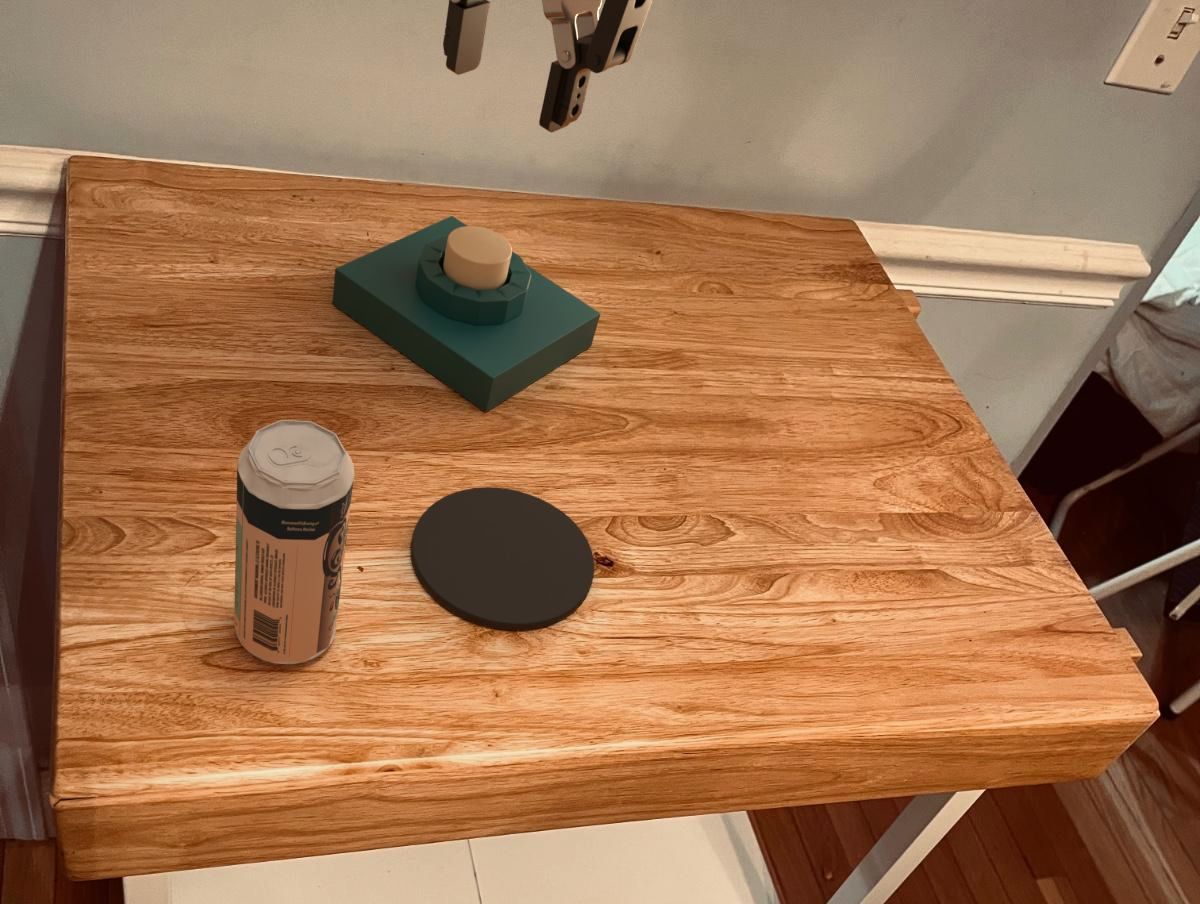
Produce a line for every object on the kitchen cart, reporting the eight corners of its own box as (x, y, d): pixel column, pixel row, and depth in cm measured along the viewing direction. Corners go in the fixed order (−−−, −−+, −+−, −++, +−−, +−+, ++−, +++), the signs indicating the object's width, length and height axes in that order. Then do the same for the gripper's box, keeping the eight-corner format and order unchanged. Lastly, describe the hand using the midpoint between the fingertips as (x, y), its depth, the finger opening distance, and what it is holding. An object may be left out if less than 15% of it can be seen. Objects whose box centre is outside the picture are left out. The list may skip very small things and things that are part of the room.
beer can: (350, 655, 58) (374, 479, 49) (254, 682, 56) (261, 501, 47) (314, 585, 60) (331, 404, 52) (220, 607, 58) (221, 422, 49)
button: (429, 266, 74) (434, 238, 72) (471, 246, 76) (476, 218, 75) (478, 299, 73) (483, 271, 71) (518, 278, 75) (525, 250, 74)
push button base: (331, 304, 76) (337, 243, 72) (446, 249, 83) (455, 191, 79) (485, 412, 72) (498, 354, 69) (591, 346, 79) (607, 290, 76)
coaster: (371, 551, 63) (372, 543, 62) (492, 469, 69) (494, 461, 69) (515, 662, 60) (517, 655, 60) (627, 566, 67) (629, 559, 66)
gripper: (400, -312, 53) (366, 53, 66) (653, -183, 50) (567, 179, 62) (506, -315, 58) (456, 26, 70) (744, -197, 54) (647, 141, 67)
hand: (508, 96), depth 66 cm, fingers open, 6 cm apart
